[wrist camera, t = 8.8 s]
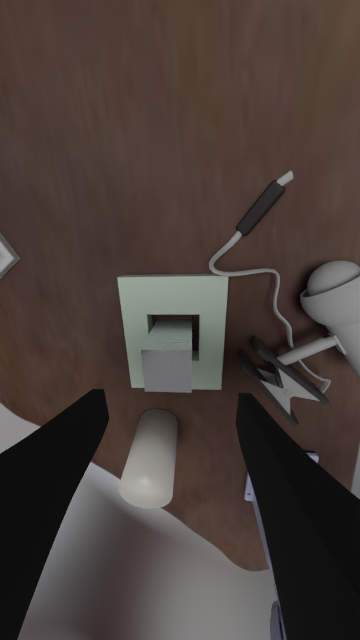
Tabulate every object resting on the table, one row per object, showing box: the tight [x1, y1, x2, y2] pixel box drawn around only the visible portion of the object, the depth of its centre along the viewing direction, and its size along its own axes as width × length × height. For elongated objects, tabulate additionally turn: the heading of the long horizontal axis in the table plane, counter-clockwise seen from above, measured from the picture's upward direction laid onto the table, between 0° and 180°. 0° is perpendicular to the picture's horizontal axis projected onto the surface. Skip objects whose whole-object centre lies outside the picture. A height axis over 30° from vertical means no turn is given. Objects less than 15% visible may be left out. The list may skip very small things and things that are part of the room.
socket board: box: [117, 274, 228, 390], centre depth 17 cm, size 11×9×2 cm
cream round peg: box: [119, 409, 178, 509], centre depth 19 cm, size 5×5×7 cm
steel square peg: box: [141, 315, 192, 393], centre depth 15 cm, size 3×3×7 cm
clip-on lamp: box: [209, 171, 360, 426], centre depth 14 cm, size 12×6×18 cm
